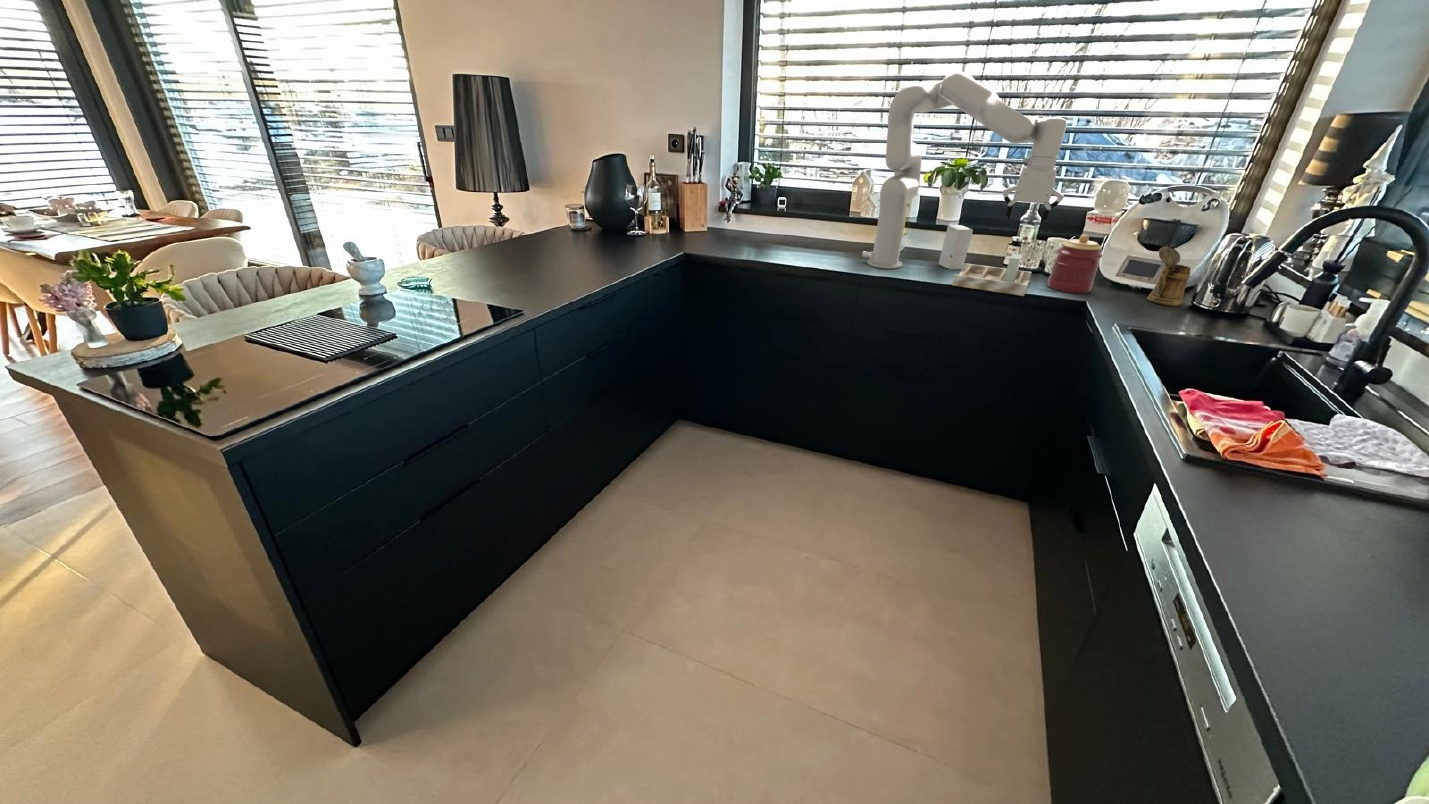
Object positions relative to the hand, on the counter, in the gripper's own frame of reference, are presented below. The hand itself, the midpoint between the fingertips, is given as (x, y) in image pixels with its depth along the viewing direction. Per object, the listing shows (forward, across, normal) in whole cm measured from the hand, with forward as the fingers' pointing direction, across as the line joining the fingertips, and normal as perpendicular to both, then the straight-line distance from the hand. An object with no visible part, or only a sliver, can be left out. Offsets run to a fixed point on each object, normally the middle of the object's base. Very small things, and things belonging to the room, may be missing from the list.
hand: (1025, 220), depth 178 cm
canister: (+21, +18, +9) cm, 29 cm away
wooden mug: (+21, +43, +7) cm, 48 cm away
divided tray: (+21, -5, 0) cm, 22 cm away
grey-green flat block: (+20, 0, 0) cm, 20 cm away
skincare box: (+22, -21, +17) cm, 35 cm away
